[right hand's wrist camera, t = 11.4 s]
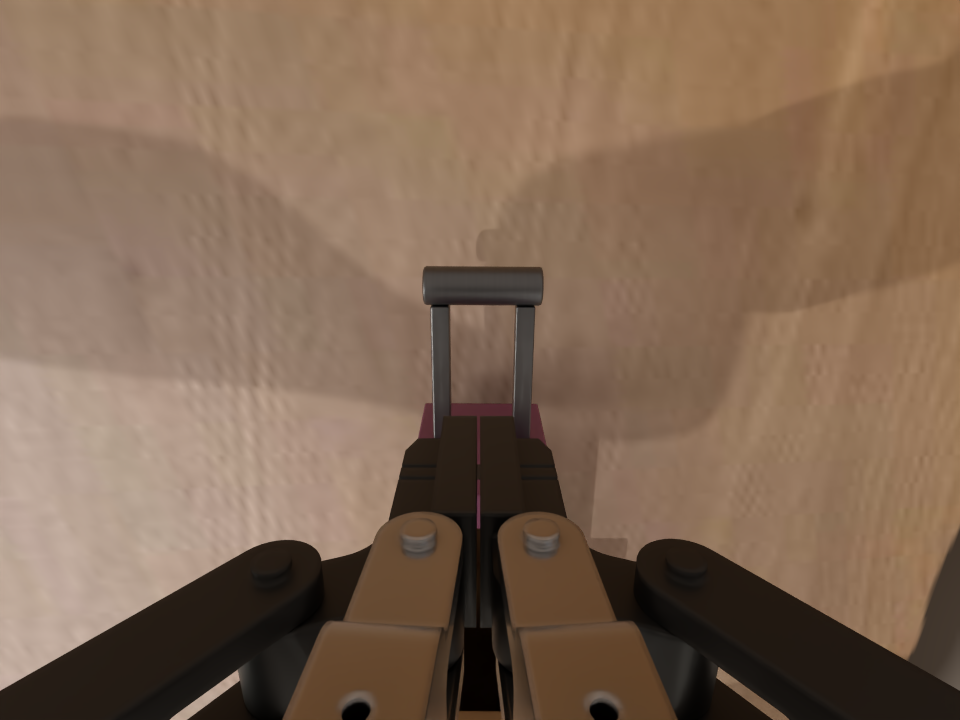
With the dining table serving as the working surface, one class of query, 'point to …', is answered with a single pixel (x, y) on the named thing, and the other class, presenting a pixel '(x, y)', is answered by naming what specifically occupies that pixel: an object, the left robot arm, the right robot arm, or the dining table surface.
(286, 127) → the dining table surface
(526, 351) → the drawer
